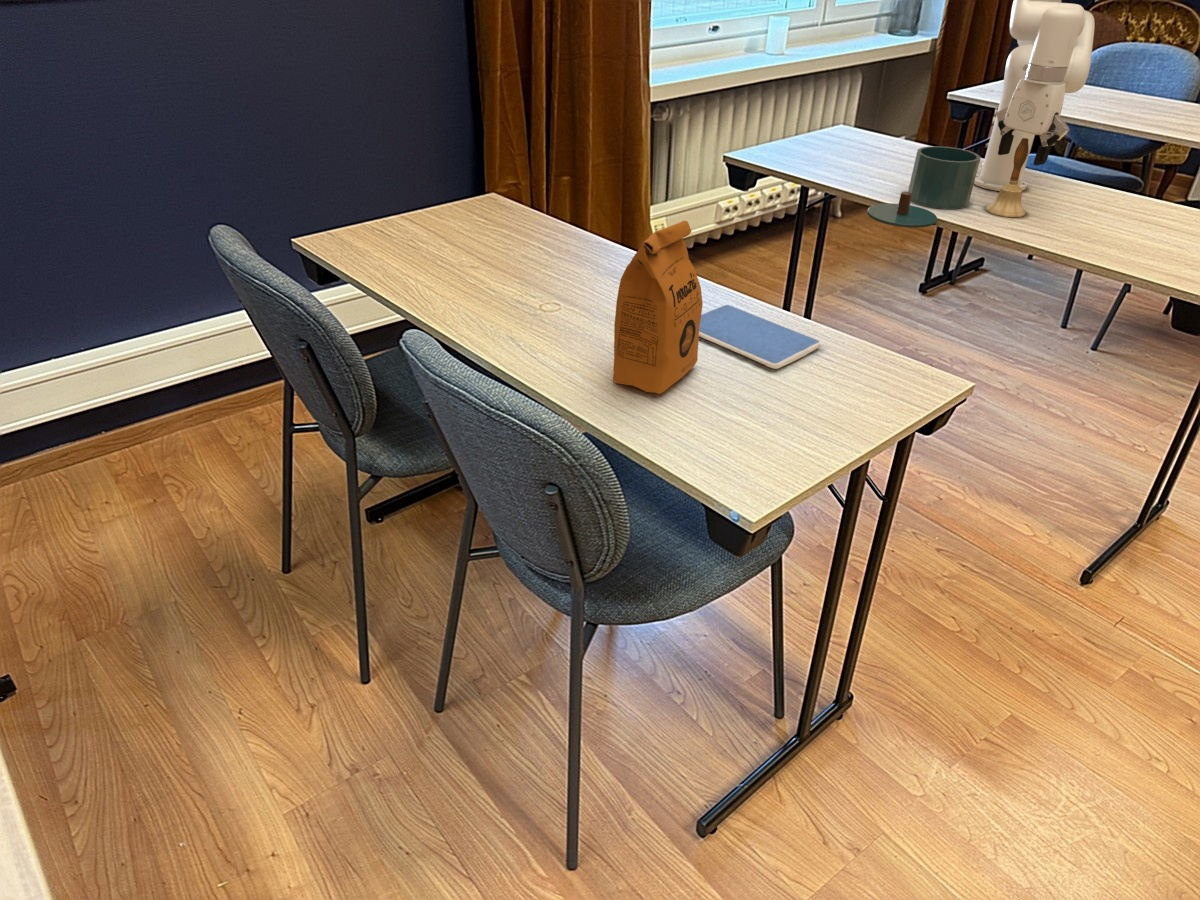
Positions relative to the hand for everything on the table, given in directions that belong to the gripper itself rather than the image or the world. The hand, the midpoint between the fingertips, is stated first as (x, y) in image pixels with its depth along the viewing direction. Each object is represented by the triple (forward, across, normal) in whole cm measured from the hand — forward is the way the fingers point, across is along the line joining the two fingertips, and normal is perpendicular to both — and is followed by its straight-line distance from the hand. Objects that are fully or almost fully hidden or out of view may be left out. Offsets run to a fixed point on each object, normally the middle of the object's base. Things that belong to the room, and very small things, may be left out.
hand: (1020, 159), depth 188 cm
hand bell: (+12, 0, 0) cm, 12 cm away
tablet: (+12, +24, -94) cm, 98 cm away
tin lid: (+11, -7, -26) cm, 29 cm away
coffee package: (+12, +28, -114) cm, 118 cm away
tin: (+12, -13, -8) cm, 19 cm away
